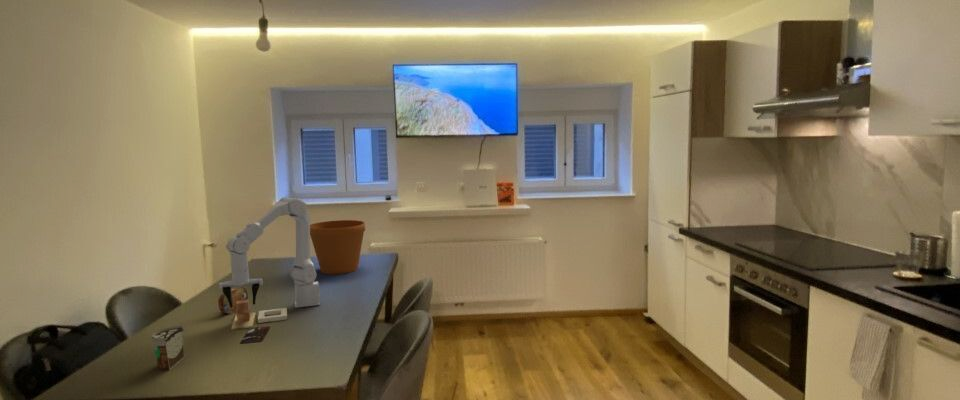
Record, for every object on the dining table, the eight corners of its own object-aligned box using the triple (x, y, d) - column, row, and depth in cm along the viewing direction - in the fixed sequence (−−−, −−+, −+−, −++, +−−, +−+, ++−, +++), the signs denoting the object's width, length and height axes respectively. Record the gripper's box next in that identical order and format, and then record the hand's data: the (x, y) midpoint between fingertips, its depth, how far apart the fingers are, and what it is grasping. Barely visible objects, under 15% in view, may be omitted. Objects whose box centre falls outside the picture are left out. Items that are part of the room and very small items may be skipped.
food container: (166, 356, 168) (163, 325, 167) (186, 355, 169) (183, 324, 167) (145, 373, 156) (141, 340, 155) (167, 372, 156) (163, 339, 155)
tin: (225, 316, 206) (223, 295, 205) (217, 316, 207) (215, 294, 206) (249, 304, 221) (247, 284, 220) (242, 304, 221) (240, 284, 220)
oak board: (255, 313, 208) (255, 312, 208) (252, 327, 193) (252, 325, 193) (235, 316, 206) (235, 314, 206) (231, 329, 191) (231, 328, 191)
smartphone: (239, 343, 177) (249, 327, 192) (239, 345, 177) (249, 329, 192) (262, 341, 178) (270, 325, 193) (262, 343, 178) (270, 327, 193)
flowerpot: (378, 268, 278) (375, 223, 275) (329, 279, 258) (326, 230, 255) (347, 260, 297) (345, 218, 294) (300, 270, 277) (297, 225, 274)
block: (250, 317, 202) (248, 299, 201) (249, 320, 198) (247, 302, 197) (238, 319, 200) (237, 300, 200) (237, 322, 197) (236, 303, 196)
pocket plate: (287, 311, 210) (286, 307, 210) (286, 319, 201) (286, 315, 200) (259, 314, 207) (259, 311, 206) (258, 323, 197) (257, 319, 197)
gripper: (216, 274, 191) (220, 311, 193) (260, 269, 196) (263, 305, 197) (219, 269, 198) (222, 305, 199) (261, 265, 202) (264, 300, 204)
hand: (243, 305), depth 199 cm, fingers open, 7 cm apart
